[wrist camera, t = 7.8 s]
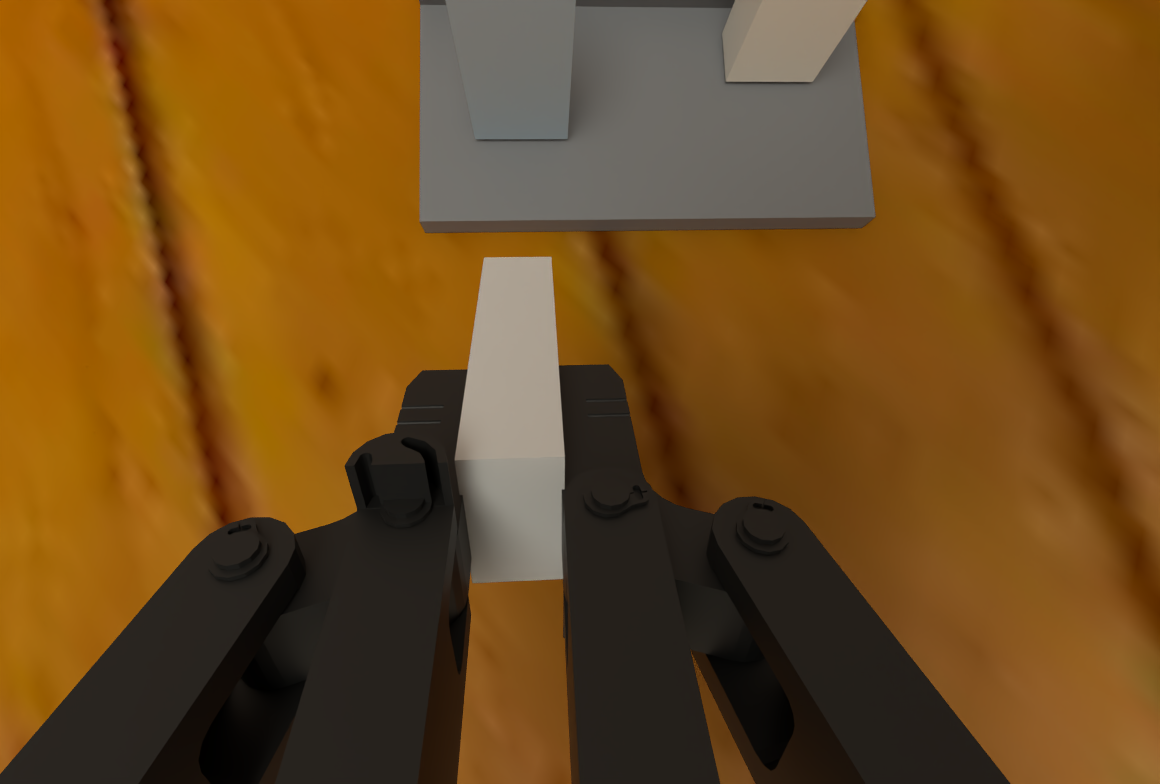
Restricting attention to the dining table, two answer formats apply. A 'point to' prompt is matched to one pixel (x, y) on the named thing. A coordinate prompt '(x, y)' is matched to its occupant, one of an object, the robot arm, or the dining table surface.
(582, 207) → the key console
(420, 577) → the robot arm
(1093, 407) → the dining table surface
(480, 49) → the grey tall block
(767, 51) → the cream key
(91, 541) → the dining table surface
